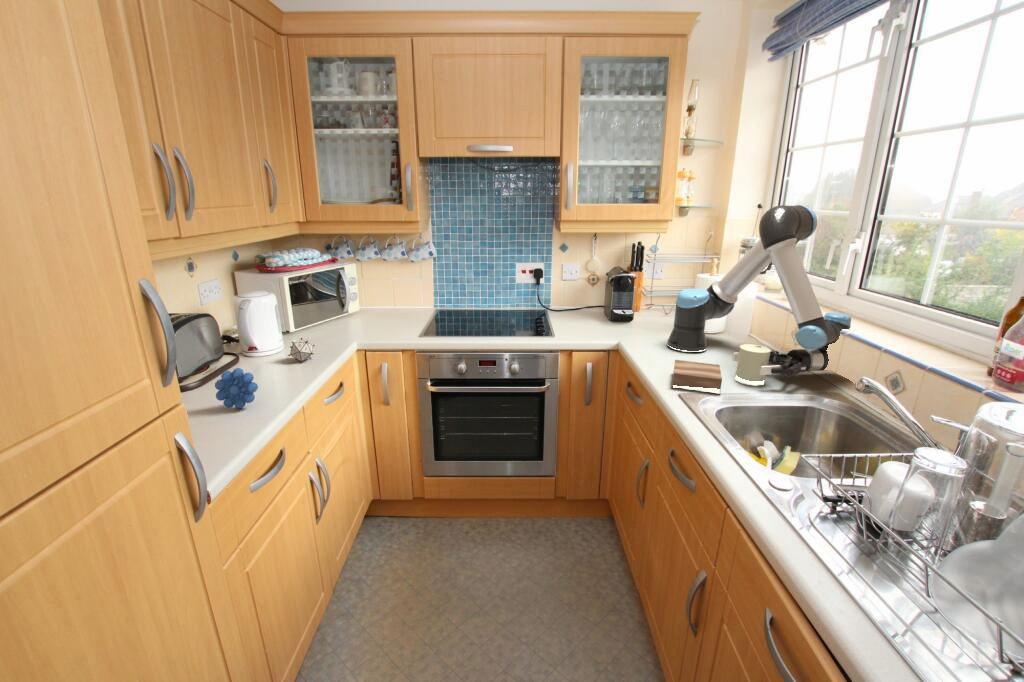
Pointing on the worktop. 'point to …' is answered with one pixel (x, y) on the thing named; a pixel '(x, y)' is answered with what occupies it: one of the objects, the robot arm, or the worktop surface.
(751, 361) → the can
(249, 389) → the blue knobbed ball
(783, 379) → the worktop surface
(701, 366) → the walnut block
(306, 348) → the grey spiked polyhedron
